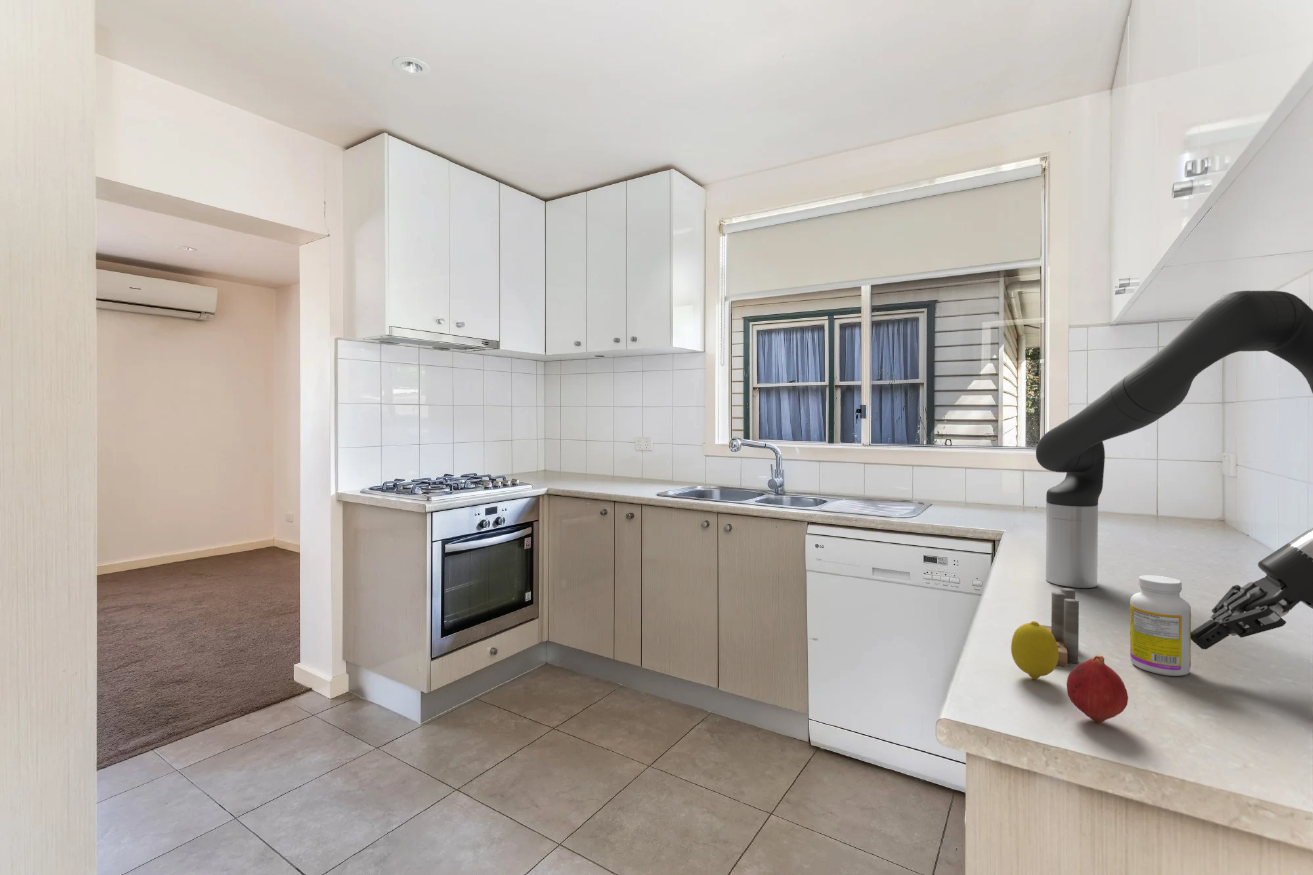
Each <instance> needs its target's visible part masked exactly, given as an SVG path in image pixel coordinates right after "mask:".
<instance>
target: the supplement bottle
mask: <svg viewBox="0 0 1313 875" xmlns="http://www.w3.org/2000/svg"><path fill="white" fill-rule="evenodd" d="M1182 585H1183V583H1182V581H1181V580H1179V579H1177V578H1174V577H1169V576H1162V575H1154V574H1151V575H1150V574H1146V575H1145V574H1144V575H1140V576H1138V586H1139V587H1140V592H1136V593H1134V594H1133V595H1131V597H1130V600H1129V601H1130V603H1129V604H1130V605H1129V606H1130V607H1129V608H1130V610H1129V613H1130V615H1129V616H1130V617H1129V622H1130V623H1129V625H1130V626H1129V628H1130V630H1129V631H1130V632H1129V634H1130V637H1129V638H1130V639H1129V641H1130V642H1129V643H1130V644H1129V645H1130V647H1129V650H1130V651H1129V656H1130V662H1131V663H1132V664H1133V665H1134V666H1136V667H1137V668H1139V669H1141V670H1144V671H1146V672H1149V673H1152V674H1157V675H1163V676H1167V677H1168V676H1170V677H1179V676H1186V675H1188V674H1189V673H1190V672H1191V662H1192V661H1191V660H1192V659H1191V658H1192V654H1191V652H1192V650H1191V646H1192V644H1191V643H1192V642H1191V641H1192V640H1191V632H1192V627H1191V626H1192V625H1191V624H1192V620H1191V619H1192V618H1191V617H1192V607H1191V605H1190V604H1189V602H1188V601H1187V600H1186V599H1184V598H1183V597H1181V595H1180V593H1182V590H1183V589H1182V588H1183V586H1182Z"/></svg>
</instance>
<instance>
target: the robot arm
mask: <svg viewBox="0 0 1313 875" xmlns="http://www.w3.org/2000/svg"><path fill="white" fill-rule="evenodd" d="M1238 352H1268V353H1271V354H1273V355H1275V356H1276V357H1278V358H1280V359H1282V360H1283V361H1285V362H1287V363H1288V364H1290V365H1291V366H1293V367H1294V368H1296V370H1298V371H1299V373H1301V374H1302V376H1303V378H1305V380H1306V382H1307V384H1308V385H1309V387H1310V391H1311V394H1313V309H1312V308H1311V307H1310V306H1309V305H1308V304H1307V303H1306V302H1305V301H1304V300H1303V299H1301V298H1300V297H1298V296H1297V295H1295V294H1293V293H1289V292H1288V291H1287V292H1286V291H1280V290H1240V291H1233V292H1230V293H1226V294H1224V295H1222V296H1220V297H1219V298H1217V299H1215V300H1213V301H1212V302H1211V303H1210V304H1208V305H1207V306H1206V307H1205V308H1204V309H1203V310H1202V311H1201V312H1199V314H1198V315H1196V317H1195V318H1194V319H1193V320H1191V321H1190V322H1189V323H1188V324H1187V325H1186V327H1184V328H1183V329H1182V330H1181V331H1180V332H1179V333H1178V334H1177V335H1176V336H1175V337H1174V338H1173V339H1172V340H1170V341H1169V342H1168V343H1167V344H1166V345H1164V347H1162V348H1161V349H1160V350H1158V351H1157V352H1156V353H1154V354H1153V355H1152V356H1150V358H1148V359H1147V360H1145V362H1143V363H1142V364H1140V365H1139V366H1138V367H1137V368H1136V369H1134V370H1133V371H1131V372H1129V373H1128V374H1127V375H1126V376H1124V377H1123V378H1122V379H1121V380H1119V381H1117V383H1115V384H1114V385H1113V386H1111V387H1110V388H1109V389H1108V390H1106V392H1104V393H1103V394H1101V395H1100V396H1099V397H1098V398H1096V399H1095V400H1094V401H1092V402H1091V403H1090V404H1088V405H1087V406H1086V407H1085V408H1083V409H1082V410H1081V411H1079V412H1078V413H1076V414H1075V415H1073V416H1072V417H1070V418H1068V419H1067V420H1065V421H1063V422H1061V423H1060V424H1059V425H1057V426H1055V427H1053V428H1052V429H1050V430H1049V431H1047V432H1046V433H1045V434H1044V435H1043V436H1042V437H1041V438H1040V439H1039V441H1038V444H1037V445H1036V450H1035V458H1036V461H1037V462H1038V464H1039V466H1040V467H1042V468H1043V469H1045V470H1047V471H1050V472H1054V473H1065V477H1064V479H1063V480H1062V481H1061V482H1060V483H1059V484H1056V485H1055V486H1052V487H1050V488H1049V489H1047V491H1046V497H1045V499H1046V500H1045V502H1046V504H1045V506H1046V508H1045V510H1046V514H1045V515H1046V516H1045V518H1046V519H1045V520H1046V522H1045V526H1046V527H1045V580H1046V582H1048V583H1051V584H1054V585H1057V586H1063V587H1067V588H1077V589H1078V588H1080V589H1081V588H1082V589H1089V588H1095V587H1097V586H1098V560H1099V558H1098V557H1099V556H1098V555H1099V554H1098V553H1099V552H1098V550H1099V549H1098V548H1099V544H1098V543H1099V498H1100V497H1101V496H1100V495H1101V494H1102V491H1103V486H1104V485H1103V484H1104V474H1105V473H1104V472H1105V459H1106V458H1105V457H1106V452H1105V444H1104V441H1107V440H1110V439H1111V440H1112V439H1113V438H1117V437H1120V436H1123V435H1126V434H1129V433H1132V432H1135V431H1137V430H1138V431H1139V430H1140V429H1142V428H1145V427H1147V426H1149V425H1151V424H1152V423H1155V422H1157V421H1158V420H1159V419H1161V418H1163V417H1164V416H1166V415H1167V414H1168V413H1171V411H1173V410H1175V409H1176V408H1177V407H1178V406H1180V405H1181V403H1182V402H1183V401H1184V400H1185V399H1186V398H1187V395H1188V394H1189V391H1190V388H1191V386H1192V383H1193V381H1194V379H1195V378H1196V377H1197V376H1198V375H1199V374H1200V373H1202V372H1203V371H1204V370H1205V369H1207V368H1209V367H1210V366H1212V365H1214V364H1215V363H1217V362H1218V361H1220V360H1222V359H1224V358H1225V357H1228V356H1229V355H1231V354H1235V353H1238ZM1257 566H1258V568H1259V569H1260V571H1262V572H1264V573H1265V574H1266V575H1265V576H1264V577H1262V578H1260V579H1258V580H1255V581H1254V582H1253V581H1250V582H1248V583H1246V584H1245V585H1243V586H1242V587H1241V586H1240V585H1239V584H1235V585H1233V586H1231V588H1230V589H1228V591H1227V592H1226V593H1225V595H1223V597H1222V598H1221V599H1220V600H1219V601H1218V602H1217V603H1216V605H1215V606H1214V607H1213V608H1212V609H1211V613H1213V614H1212V615H1211V616H1210V619H1209V620H1208V621H1205V623H1203V624H1202V625H1199V626H1198V627H1197V628H1195V629H1193V630H1191V641H1192V642H1193V643H1195V645H1197V646H1198V648H1200V649H1201V650H1208V649H1210V648H1211V647H1213V646H1214V645H1217V643H1220V642H1221V641H1222V640H1224V639H1226V638H1227V637H1229V636H1231V637H1234V636H1238V637H1240V638H1242V639H1243V638H1245V637H1249V636H1252V635H1256V634H1257V635H1258V634H1260V633H1264V632H1267V631H1271V630H1275V629H1278V628H1281V627H1284V626H1285V625H1286V623H1287V621H1286V620H1285V619H1284V618H1282V617H1284V616H1286V615H1288V613H1289V612H1290V611H1292V609H1294V608H1295V607H1296V605H1298V604H1299V603H1300V602H1302V603H1303V604H1304V605H1306V606H1307V607H1309V608H1310V609H1313V527H1311V528H1310V529H1308V530H1306V531H1304V532H1303V533H1301V534H1299V535H1298V536H1297V537H1295V538H1294V539H1292V540H1291V541H1288V542H1287V543H1285V544H1284V545H1283V546H1281V547H1280V548H1278V549H1277V550H1275V551H1273V552H1272V553H1271V554H1269V555H1267V556H1266V557H1264V558H1263V559H1261V560H1260V561H1258V563H1257Z"/></svg>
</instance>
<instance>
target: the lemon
mask: <svg viewBox="0 0 1313 875" xmlns="http://www.w3.org/2000/svg"><path fill="white" fill-rule="evenodd" d="M1042 625H1043V624H1040V623H1039V622H1038V621H1031V622H1029V623H1023V624H1021V625H1020V626H1019V627H1017V628H1016V629H1015V631H1014V632H1013V635H1012V638H1011V644H1010V650H1011V656H1012V659H1013V661H1014V663H1015V665H1016V666H1017V667H1018V668H1019V669H1020V670H1021V672H1023V673H1025V674H1027V675H1028V676H1029V677H1030V678H1031V679H1032V680H1037V679H1039V678H1040V677H1044V676H1048V675H1049V674H1051V673H1052V672H1053V671H1054V670H1055V669H1056V667H1057V666H1058V665H1057V663H1058V657H1059V652H1058V646H1057V642H1056V640H1055V638H1054V636H1053V634H1052V633H1051V632H1050V631H1049V630H1048V629H1047V628H1045V627H1044V626H1042Z"/></svg>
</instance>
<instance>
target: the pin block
mask: <svg viewBox="0 0 1313 875" xmlns="http://www.w3.org/2000/svg"><path fill="white" fill-rule="evenodd" d="M1060 590H1061V591H1058V592H1057V591H1052V592H1051V617H1050V618H1051V626H1050V625H1045V624H1041V625H1042V626H1044V627H1045V628H1047V629H1048V630H1049V631H1050V632H1051V633H1052V634H1053V636H1054V638H1055V640H1056V642H1057V646H1058V652H1059V657H1058V663H1057V665H1056V666H1060V667H1061V666H1062V667H1065V666H1067V667H1068V663H1069V662H1071V663H1070V664H1078V663H1079V634H1080V632H1079V631H1080V630H1079V628H1080V626H1079V625H1080V624H1079V622H1080V621H1079V620H1080V619H1079V618H1080V617H1079V614H1080V612H1079V610H1080V609H1079V608H1080V601H1079V600H1077V599H1076V590H1075V589H1073V588H1070V587H1064V588H1063V587H1062V588H1061V589H1060Z"/></svg>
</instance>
